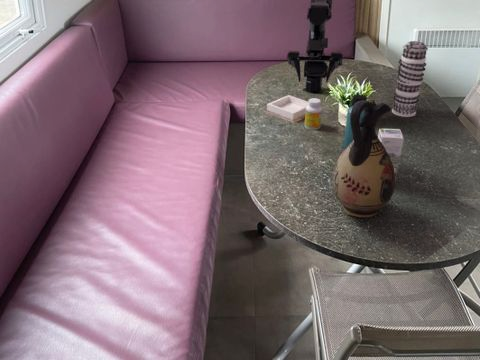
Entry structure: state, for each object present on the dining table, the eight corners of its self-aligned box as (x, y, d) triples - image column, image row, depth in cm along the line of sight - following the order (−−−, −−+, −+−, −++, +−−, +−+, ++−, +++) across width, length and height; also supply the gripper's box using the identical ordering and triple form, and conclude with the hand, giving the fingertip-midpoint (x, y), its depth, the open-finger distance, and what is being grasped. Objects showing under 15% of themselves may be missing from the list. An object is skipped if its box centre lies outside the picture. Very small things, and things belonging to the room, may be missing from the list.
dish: (288, 102, 189) (288, 95, 187) (313, 111, 182) (314, 103, 180) (266, 111, 182) (267, 104, 180) (292, 121, 175) (293, 113, 173)
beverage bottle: (363, 164, 150) (372, 101, 140) (340, 162, 151) (348, 99, 141) (363, 154, 155) (372, 92, 145) (341, 152, 157) (348, 91, 146)
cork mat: (288, 101, 191) (288, 100, 191) (318, 112, 182) (318, 111, 182) (263, 112, 182) (263, 111, 182) (294, 124, 174) (294, 122, 174)
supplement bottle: (302, 128, 171) (303, 101, 166) (307, 122, 175) (309, 96, 170) (317, 131, 169) (319, 104, 164) (322, 125, 173) (325, 99, 168)
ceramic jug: (354, 185, 140) (369, 82, 124) (402, 209, 130) (424, 100, 114) (312, 207, 131) (322, 99, 115) (359, 235, 121) (377, 121, 105)
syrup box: (392, 173, 145) (400, 127, 138) (395, 184, 140) (404, 137, 133) (371, 172, 146) (379, 127, 138) (374, 183, 141) (382, 136, 133)
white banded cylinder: (389, 115, 180) (401, 45, 167) (391, 105, 187) (402, 38, 174) (416, 118, 177) (430, 48, 164) (417, 108, 185) (430, 40, 172)
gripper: (287, 28, 169) (283, 72, 166) (344, 28, 165) (341, 73, 163) (290, 42, 179) (286, 84, 177) (343, 43, 176) (340, 86, 173)
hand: (313, 82), depth 172 cm, fingers open, 9 cm apart
